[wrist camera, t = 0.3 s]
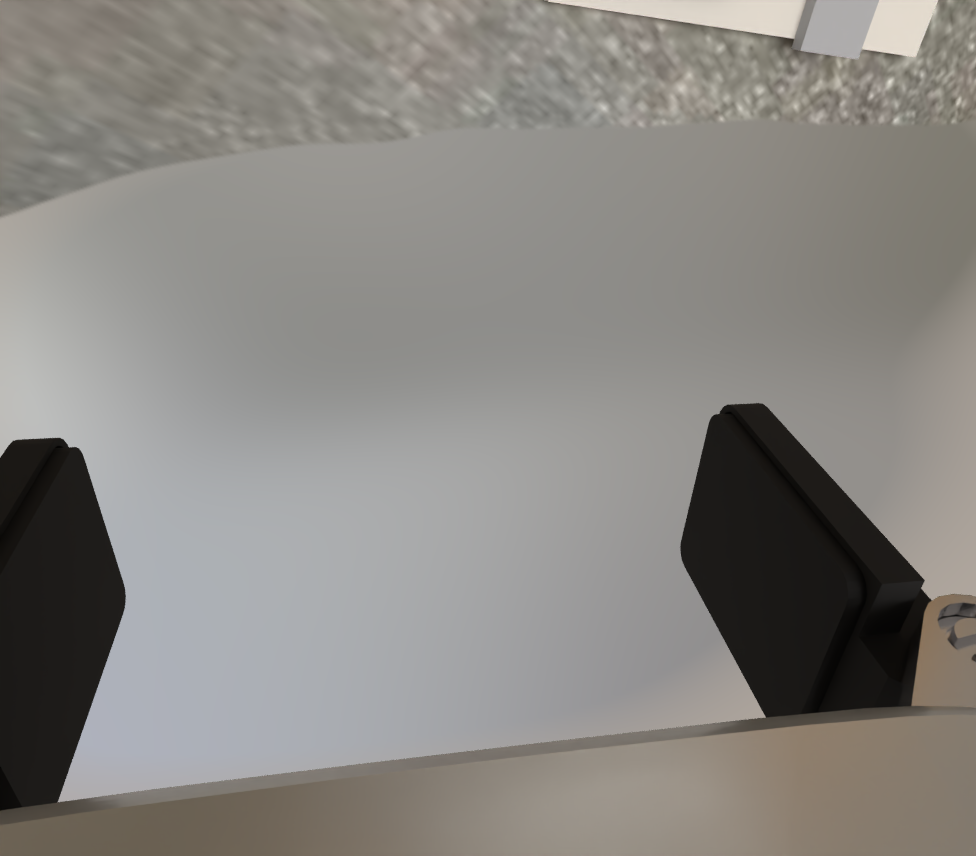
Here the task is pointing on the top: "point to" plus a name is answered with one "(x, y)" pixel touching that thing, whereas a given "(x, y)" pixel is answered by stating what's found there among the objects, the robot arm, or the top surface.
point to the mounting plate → (799, 20)
